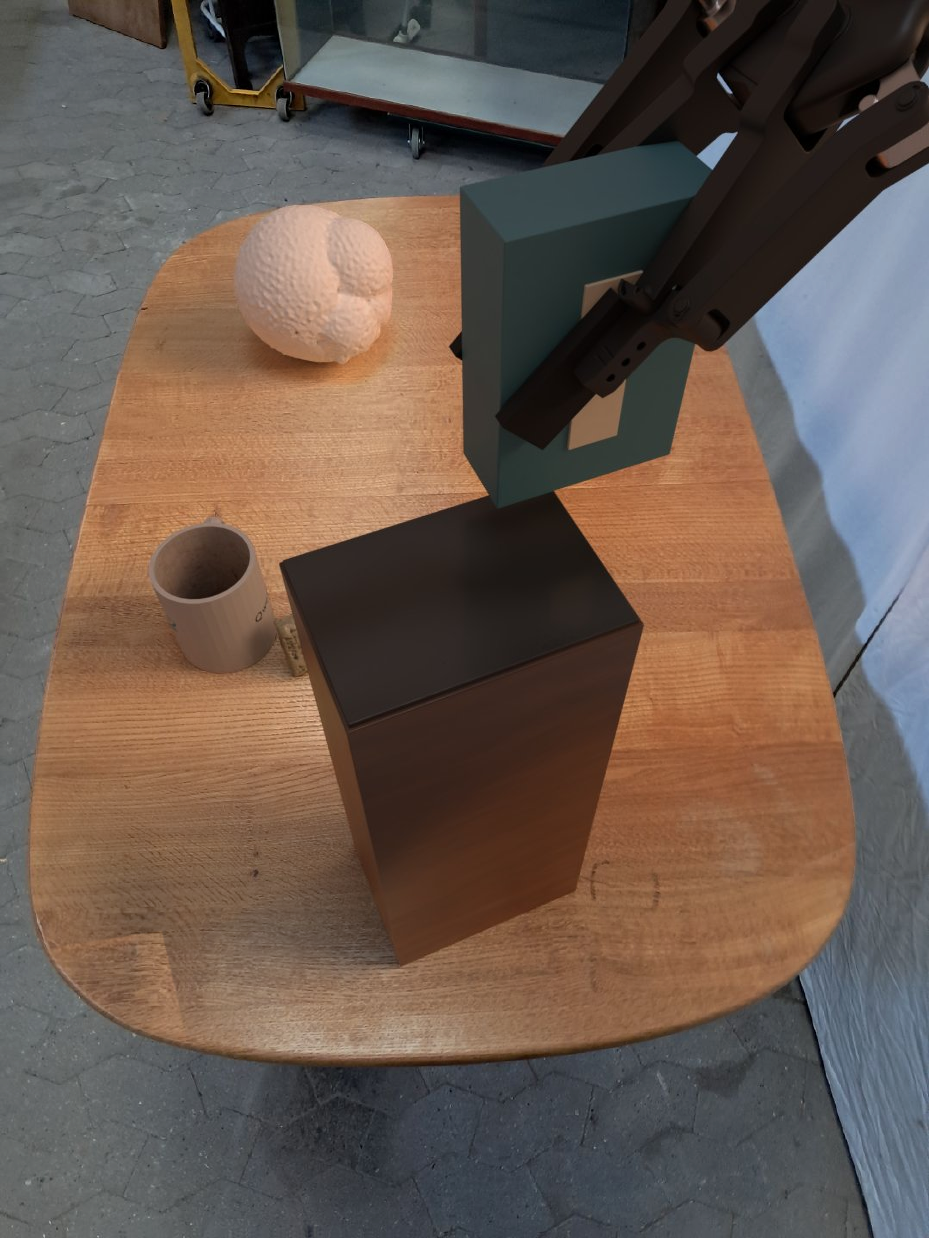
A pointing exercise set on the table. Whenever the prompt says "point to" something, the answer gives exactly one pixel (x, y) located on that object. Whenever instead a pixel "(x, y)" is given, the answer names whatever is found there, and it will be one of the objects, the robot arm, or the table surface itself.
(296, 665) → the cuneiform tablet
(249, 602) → the mug
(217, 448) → the table surface
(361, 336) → the decorative orb
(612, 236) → the teal box
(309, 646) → the pedestal
